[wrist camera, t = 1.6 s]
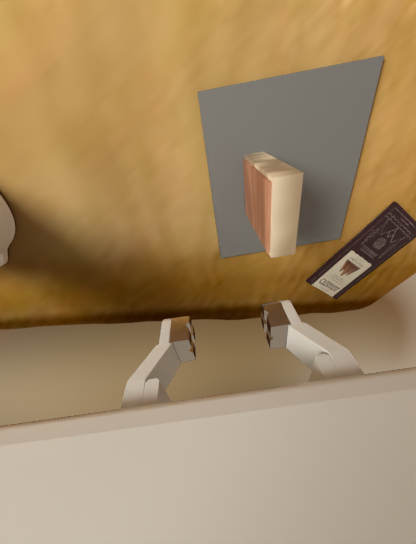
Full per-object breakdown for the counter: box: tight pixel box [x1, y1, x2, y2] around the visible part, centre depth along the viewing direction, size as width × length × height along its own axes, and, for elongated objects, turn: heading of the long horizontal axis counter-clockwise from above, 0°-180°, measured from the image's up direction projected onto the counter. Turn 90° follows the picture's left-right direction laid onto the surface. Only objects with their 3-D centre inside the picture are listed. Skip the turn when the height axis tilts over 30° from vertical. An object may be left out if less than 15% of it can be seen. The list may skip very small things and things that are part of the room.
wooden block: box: [243, 152, 304, 258], centre depth 25 cm, size 3×8×12 cm, turn 9°
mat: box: [198, 56, 384, 258], centre depth 30 cm, size 20×22×1 cm
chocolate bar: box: [306, 202, 416, 299], centre depth 39 cm, size 9×1×18 cm
